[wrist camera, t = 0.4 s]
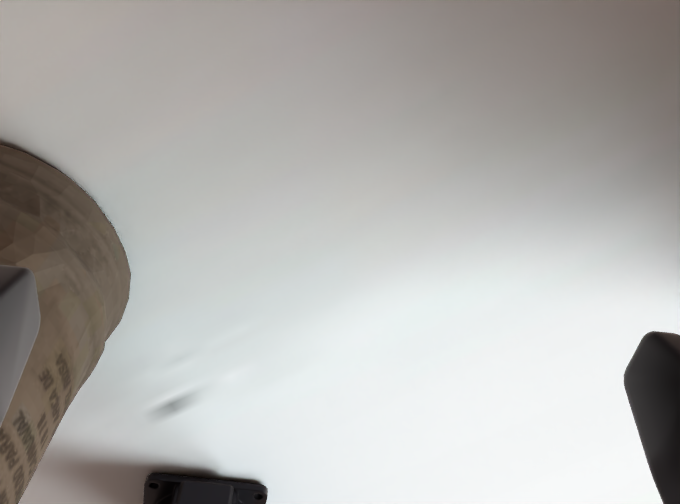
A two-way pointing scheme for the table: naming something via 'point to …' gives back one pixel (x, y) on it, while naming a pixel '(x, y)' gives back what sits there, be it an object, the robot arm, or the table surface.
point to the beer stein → (55, 302)
